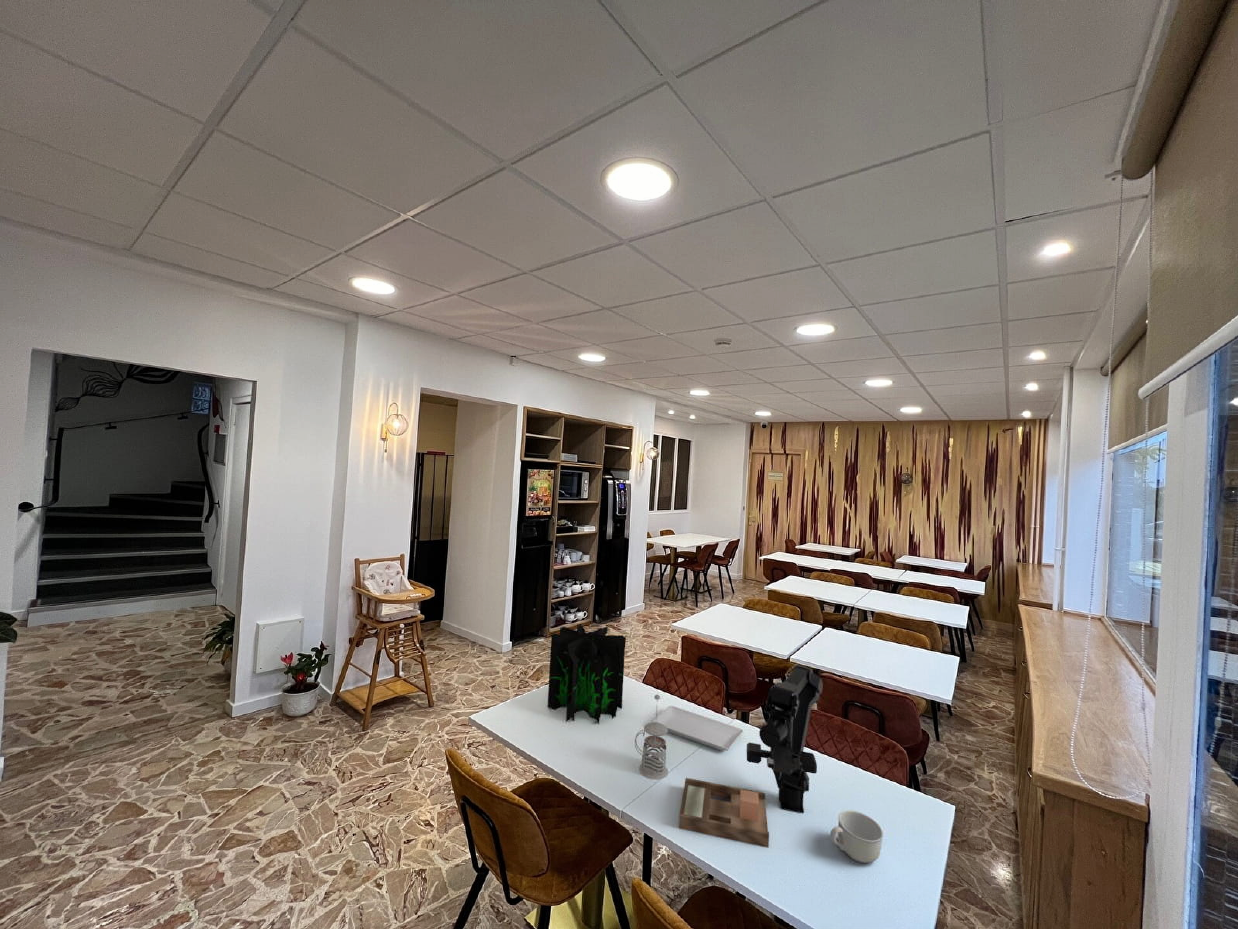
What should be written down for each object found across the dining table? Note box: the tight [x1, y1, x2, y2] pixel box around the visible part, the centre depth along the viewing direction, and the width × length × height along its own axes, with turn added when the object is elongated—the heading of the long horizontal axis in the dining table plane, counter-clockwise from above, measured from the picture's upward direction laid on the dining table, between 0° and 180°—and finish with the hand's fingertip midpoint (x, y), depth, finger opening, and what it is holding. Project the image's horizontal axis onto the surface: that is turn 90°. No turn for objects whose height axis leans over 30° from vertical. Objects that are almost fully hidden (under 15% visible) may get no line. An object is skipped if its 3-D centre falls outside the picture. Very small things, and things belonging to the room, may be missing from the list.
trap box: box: [678, 777, 770, 848], centre depth 144 cm, size 24×18×4 cm
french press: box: [634, 694, 669, 781], centre depth 165 cm, size 10×12×25 cm
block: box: [740, 789, 759, 822], centre depth 143 cm, size 5×5×5 cm
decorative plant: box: [547, 623, 627, 724], centre depth 207 cm, size 29×30×30 cm
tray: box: [651, 705, 744, 752], centre depth 190 cm, size 17×32×4 cm, turn 57°
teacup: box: [830, 809, 884, 864], centre depth 132 cm, size 14×11×8 cm
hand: (779, 787), depth 141 cm, fingers closed
